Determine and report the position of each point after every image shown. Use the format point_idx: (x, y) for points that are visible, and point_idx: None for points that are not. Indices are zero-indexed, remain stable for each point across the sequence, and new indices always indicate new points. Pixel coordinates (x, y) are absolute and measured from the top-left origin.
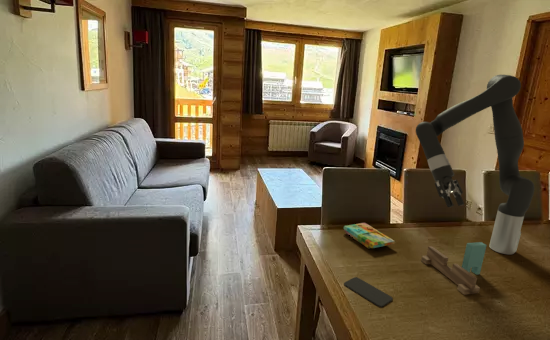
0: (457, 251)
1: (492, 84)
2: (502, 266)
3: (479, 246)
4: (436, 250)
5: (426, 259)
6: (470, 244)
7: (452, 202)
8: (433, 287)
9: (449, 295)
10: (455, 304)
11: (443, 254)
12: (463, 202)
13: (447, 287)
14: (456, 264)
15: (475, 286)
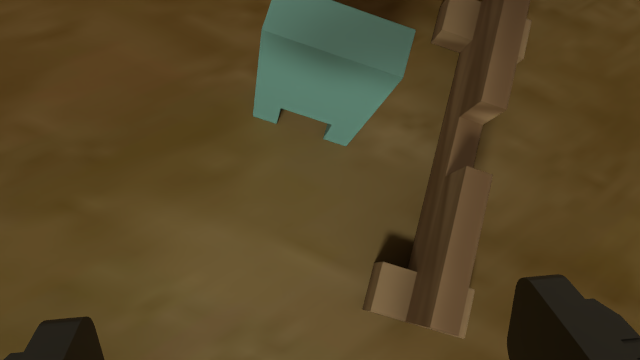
0: (93, 311)
1: None
2: (25, 58)
3: (344, 8)
4: (453, 267)
5: (472, 294)
6: (397, 51)
7: (559, 314)
8: (598, 132)
9: (579, 63)
10: (607, 19)
11: (457, 209)
12: (45, 339)
13: (537, 100)
14: (492, 95)
15: (461, 7)
